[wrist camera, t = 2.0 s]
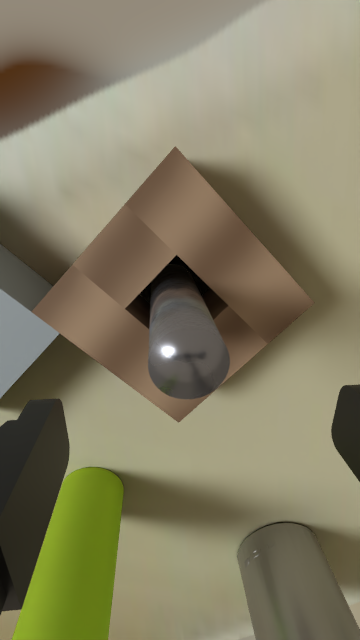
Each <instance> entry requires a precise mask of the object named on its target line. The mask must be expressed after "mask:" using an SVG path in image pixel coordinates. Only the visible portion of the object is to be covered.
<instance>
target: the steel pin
mask: <svg viewBox="0 0 360 640" xmlns="http://www.w3.org/2000/svg"><path fill="white" fill-rule="evenodd" d="M229 366H230V357H229V352H228V349H227V347H226V345H225V343H224V341H223V339H222V337H221V335H220V333H219V331H218V329H217V327H216V324H215V322H214V320H213V318H212V316H211V314H210V312H209V310H208V308H207V306H206V304H205V302H204V300H203V298H202V296H201V294H200V292H199V290H198V288H197V285H196V283H195V281H194V279H193V277H192V275H191V274H190V272H189V271H188V270H187V269H186V268H184V267H182V266H180V265H176V264H170V265H166V266H165V267H164V268H163V269H162V271H161V272H160V273H159V274H158V275H157V276H156V277H155V278H154V279H153V280H152V282H151V303H150V328H149V353H148V371H149V375H150V377H151V380H152V381H153V383H154V384H155V386H156V387H157V388H158V389H159V390H160V391H162V392H163V393H165V394H166V395H168V396H171V397H174V398H178V399H196V398H200V397H203V396H206V395H208V394H210V393H211V392H213V391H214V390H215V389H217V388H218V387H219V386H220V385H221V384H222V382H223V381H224V379H225V378H226V376H227V373H228V371H229Z"/></svg>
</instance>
